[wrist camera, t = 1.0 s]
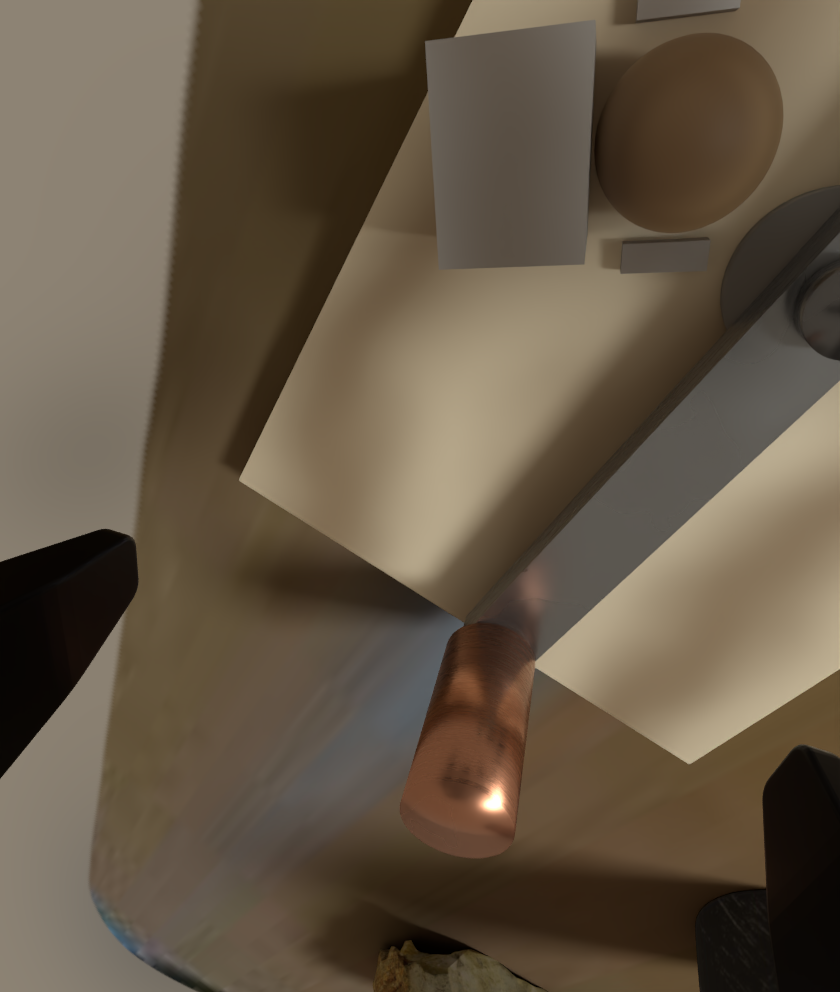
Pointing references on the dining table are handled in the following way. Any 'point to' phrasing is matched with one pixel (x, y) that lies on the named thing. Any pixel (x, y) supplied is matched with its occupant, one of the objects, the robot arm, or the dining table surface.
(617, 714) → the base
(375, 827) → the dining table surface
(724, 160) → the walnut
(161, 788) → the dining table surface
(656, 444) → the lever
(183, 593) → the dining table surface
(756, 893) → the travel mug
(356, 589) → the dining table surface
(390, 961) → the rock
